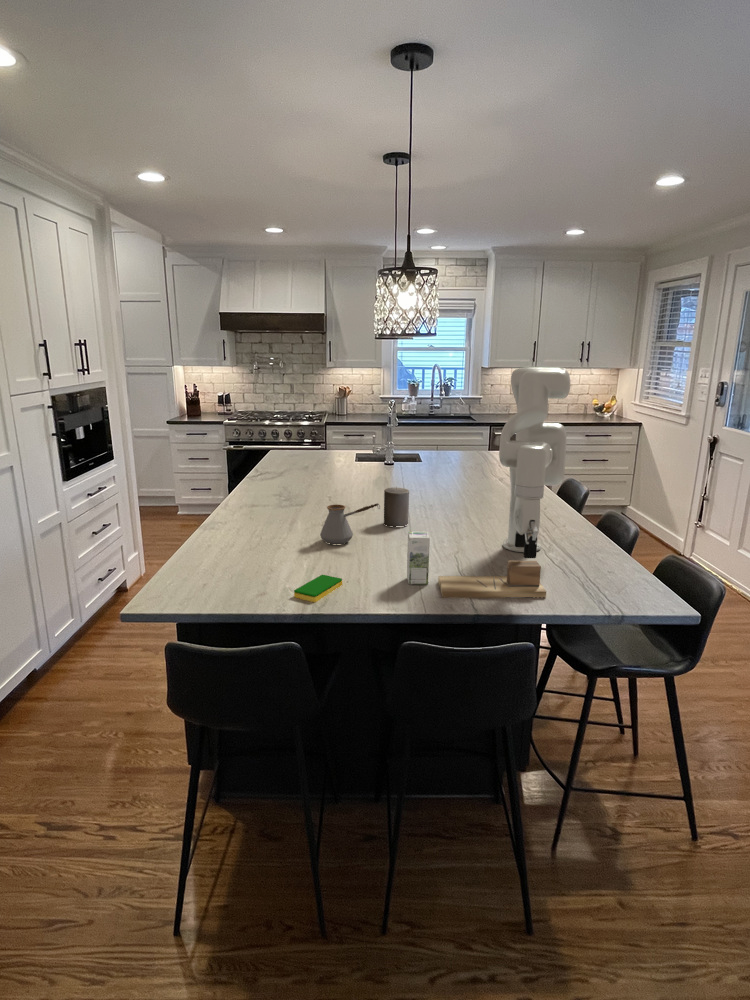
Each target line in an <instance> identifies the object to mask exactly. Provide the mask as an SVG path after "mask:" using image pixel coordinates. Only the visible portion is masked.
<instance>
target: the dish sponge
mask: <svg viewBox="0 0 750 1000" xmlns="http://www.w3.org/2000/svg"><path fill="white" fill-rule="evenodd" d="M341 585H342V586H343V578H340V577H335V576H330V575H327V574H320V575H319V576H317V577H316V578H314V579H312V580H310V581H308V582H307V583H304V584H303V585H301V586H299V587H298V588H296V589H294V590H293V595H294V596H293V597H294V598H295V597H296V599H299V598H300V600H303V601H307V602H311V603H317V602H318V601H320V600H321V598H322V599H323V598H325V597H327V596H328V595H329V593H330V594H331V593H333V592H334V591H335V589H336V588H337V589H339V588H341V587H342V586H341ZM340 586H341V587H340ZM338 587H339V588H338ZM337 589H336V590H337ZM333 590H334V591H333ZM332 591H333V592H332ZM324 596H325V597H324Z"/></svg>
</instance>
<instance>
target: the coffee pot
mask: <svg viewBox="0 0 750 1000" xmlns="http://www.w3.org/2000/svg"><path fill="white" fill-rule="evenodd" d="M375 507H377V509H378V510H380V508H381V505H380V504H379V503H374V504H370V505H368V506H364V507H361V508H359V509H356V510H354V511H351V512H348V513H344V512H345V509H346V506H345V505H344V504H343V505H342V504H330V505H327V506H326V509H327V510H328V515H327V517H326V518H325V520H324V524H323V526H322V528H321V531H320V534H319V536H320V539H321V540H323V541H324V542H325V543H326V542H327V543H330V544H344V543H346V542H347V543H349V541H350V540H351V539H352V538H353V536H354V533H353V530H352V528H351V525H350V524H349V521H348V519H347V517H349V516H352V515H354V514H359V513H362V512H364V511H368V510H369V509H373V508H375ZM327 543H326V544H327ZM347 543H346V544H347ZM344 545H345V544H344Z"/></svg>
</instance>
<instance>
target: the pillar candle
mask: <svg viewBox="0 0 750 1000" xmlns="http://www.w3.org/2000/svg"><path fill="white" fill-rule="evenodd" d="M409 507H410V489H408V488H405V487H397V486H395V487H388V488H385V489H384V492H383V525H384V524H385V525H387V526H393V527H396V526H405V525H407V524H408V525H409V516H410V515H409V513H410V508H409ZM385 525H384V526H385ZM387 526H386V527H387Z"/></svg>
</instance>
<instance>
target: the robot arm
mask: <svg viewBox="0 0 750 1000" xmlns="http://www.w3.org/2000/svg"><path fill="white" fill-rule="evenodd" d="M510 386H511V392H512V394H513V398H514V401H515V404H516V410H517V411H516V413H514V414H513V415H512V416H511V417H510V418H509V419H508V420H507V421H506V423H504V426H503V428H502V430H501V433H500V438H499V439H500V440H499V450H498V453H499V454H498V457H499V462H500V464H501V465H502V466H503V467H505V468H509V478H510V497H509V498H510V500H509V512H508V513H509V514H508V515H509V517H508V528H507V529H508V531H507V533H508V534H507V539H504V541H503V542H502V547H503V548H504V549H507V550H509V551H512V552H516V553H523V558H524V559H536V558H537V552H538V551H541V548H542V544H541V542H538V539H539V538H538V534H539V532H540V522H541V521H540V520H541V500H543V499H544V494H545V493H544V492H545V486H555V487H556V486H559V485H561V484H562V483H563V482H564V479H565V469H566V457H567V456H566V454H567V452H566V451H567V430H566V428H565V426H564V425H563V424H561V423H557V422H556V423H555V422H545V421H546V419H547V418H548V415H549V400H550V399H557V400H560V399H562V400H563V399H566V398H567V397H568V395H569V394H570V389H571V377H570V373H569V372H568V370H567V368H565V367H541V366H540V367H539V366H536V367H534V366H531V367H529V366H527V367H519V368H515V370H513V371H512V372H511V374H510ZM514 435H515V440H511V438H512V437H513V436H514Z"/></svg>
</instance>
